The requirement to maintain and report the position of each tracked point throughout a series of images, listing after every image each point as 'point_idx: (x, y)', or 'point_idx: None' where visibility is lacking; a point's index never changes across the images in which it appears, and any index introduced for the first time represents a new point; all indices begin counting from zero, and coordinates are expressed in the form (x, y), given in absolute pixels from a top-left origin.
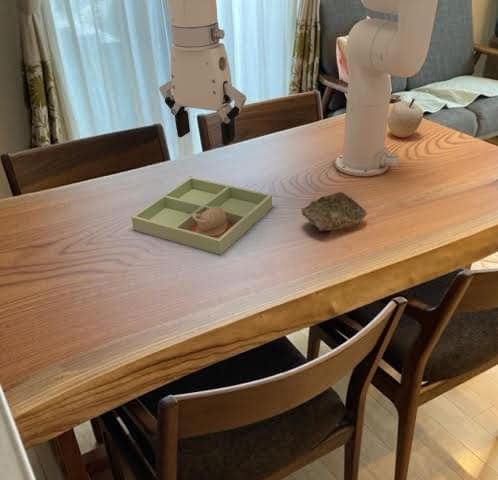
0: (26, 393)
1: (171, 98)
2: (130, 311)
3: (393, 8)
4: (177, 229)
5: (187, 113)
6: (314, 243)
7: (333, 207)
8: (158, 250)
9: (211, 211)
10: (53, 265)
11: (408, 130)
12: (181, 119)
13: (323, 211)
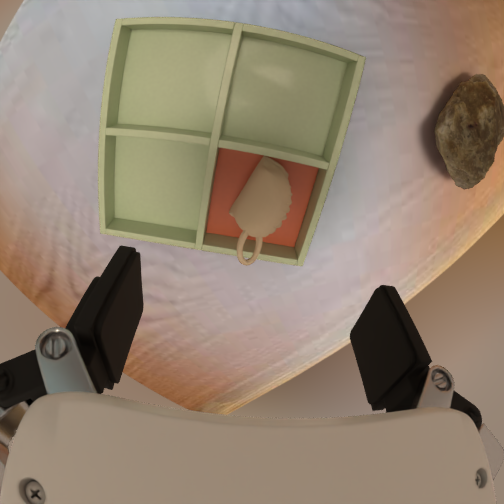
0: None
1: (22, 414)
2: (230, 360)
3: None
4: (207, 250)
5: (104, 328)
6: (437, 185)
7: (488, 160)
8: (188, 263)
9: (271, 229)
10: None
11: None
12: (120, 359)
13: (476, 180)
